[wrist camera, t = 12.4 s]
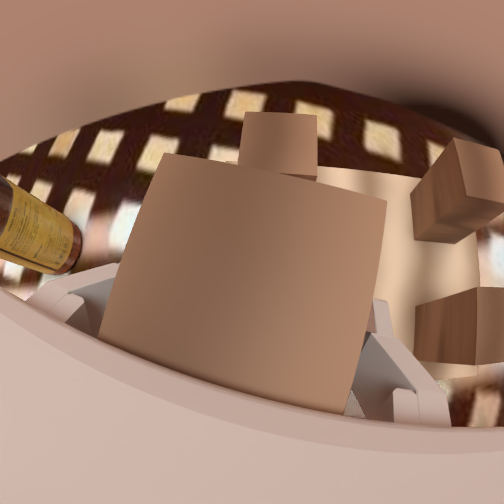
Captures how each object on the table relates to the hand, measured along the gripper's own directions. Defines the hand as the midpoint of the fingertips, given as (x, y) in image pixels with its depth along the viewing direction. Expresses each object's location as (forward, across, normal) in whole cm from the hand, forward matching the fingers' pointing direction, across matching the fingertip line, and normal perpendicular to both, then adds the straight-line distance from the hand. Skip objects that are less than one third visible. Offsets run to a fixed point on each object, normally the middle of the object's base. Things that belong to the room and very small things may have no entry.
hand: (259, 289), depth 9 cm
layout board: (+15, -6, +8) cm, 18 cm away
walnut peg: (+3, 0, +4) cm, 5 cm away
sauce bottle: (+12, +22, +11) cm, 28 cm away
